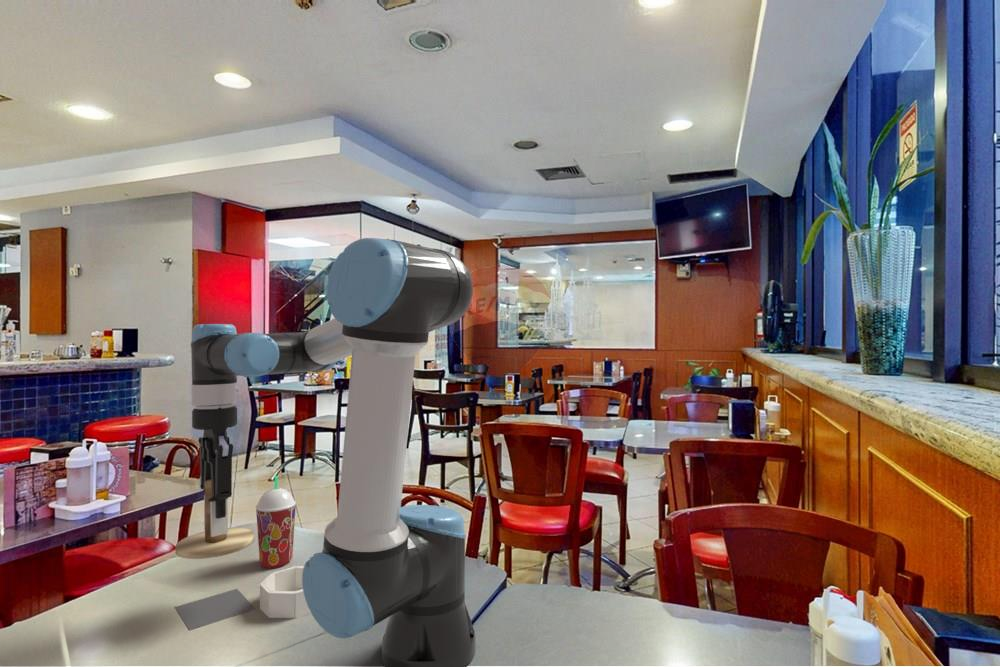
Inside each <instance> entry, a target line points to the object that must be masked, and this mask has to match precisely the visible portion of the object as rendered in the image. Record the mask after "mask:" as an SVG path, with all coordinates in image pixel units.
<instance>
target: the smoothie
mask: <svg viewBox="0 0 1000 667" xmlns="http://www.w3.org/2000/svg"><path fill="white" fill-rule="evenodd" d="M278 478H279V477H278V475H275V476H274V488H273V487H272V488H271V489H269V490H267V491H266V492H264V493H263V494H262V495H261V497H260V498H259V500H258V502H257V504H256V505H255V510H256V511H255V512H256V513H255V514H256V527H257V542H258V556H259V557H258V558H259V563H260V565H261V566H262V568H265V569H277V568H283V567H285V566H287V565H288V564H290V562H291V560H293V559H292V558H293V556H294V554H293V552H294V535H295V524H296V523H295V520H296V506H297V505H296V504H297V501H296V500H295V498H294V497H293V495H292V494H291V492H290V491H289V490H287V489H285V488H281V487H279V486H278V484H279V483H278Z"/></svg>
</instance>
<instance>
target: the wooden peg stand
mask: <svg viewBox="0 0 1000 667" xmlns="http://www.w3.org/2000/svg"><path fill="white" fill-rule="evenodd" d="M204 496H205V530H204V531H201V532H198V533H195V534H191V535H189V536H186V537H184V538H181V540H179V541H178V542H177V543H176V545H175V555H176V556H177V557H180V558H183V559H189V560H190V559H191V560H199V559H200V560H201V559H213V558H218V557H223V556H227V555H230V554H233V553H236V552H240V551H241V550H244V549H245V548H248V547H249V546H251V545H252V544H253V543H254V541H255V533H254V531H253V530H251V529H249V528H243V527H228V533H227V534H222V535H218V536H214V537H211V519H210V502H208V499H209V498H212V482H211V479H210V480H206V481H205V495H204Z"/></svg>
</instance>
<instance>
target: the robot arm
mask: <svg viewBox="0 0 1000 667" xmlns="http://www.w3.org/2000/svg"><path fill="white" fill-rule="evenodd" d="M473 295H474V283H473V279H472V276H471V273H470V270H469V269H468V267H467V266H466V265H465V263H463V261H462V260H461V259H460V258H459V257H458V256H456V255H454V254H453V253H451V252H449V251H447V250H443V249H439V248H430V247H428V246H423V245H418V244H415V243H414V244H413V243H409V242H405V241H400V240H396V239H389V238H377V237H363V238H359V239H357V240H355V241H353V242H351V243H349V244H348V245H347V246H345V248H344V250H343V251H342V252H340V253H339V254H338V256H337V257H336V259H335V260H334V262H333V264H332V266H331V268H330V271H329V274H328V277H327V283H326V300H327V301H326V302H327V305H328V306H330V309H329V311H330V313H331V315H332V316H333V318H332V319H330V320H328V321H325V322H323V323H320V324H319V325H317V326H315V327H313V328H311V329H309V330H307V331H304V332H301V333H259V332H243V333H237V327H236V326H235V325H234V324H232V323H230V324H229V323H205V324H204V323H202V324H196V325H194V326H193V328H192V330H191V342H190V349H191V350H190V352H191V379H192V380H191V405H192V406H193V407H194V408H193V409H192V410H191V426H192V429H195V430H197V431H198V430H199V431H203V437H202V436H201V437H198V441H197V442H198V448H199V469H200V471H199V474H200V477H199V478H200V489H201V490H202V493H203V504H204V505H203V510H204V511H203V512H204V513H203V520H204V521H203V525H204V528H203V530H204V531H205V481H206V480H210V479H211V482H212V498H209V499H208V502H210V519H211V537H214V536H218V535H222V534H227V533H228V528H229V526H228V525H229V524H228V523H229V522H228V520H229V519H228V516H229V515H228V514H229V513H228V510H229V509H228V506H229V505H228V504H229V503H228V499H229V498H231V497H232V494H233V493H232V491H233V490H232V489H233V488H232V486H233V485H232V483H233V479H232V478H233V473H232V472H233V452H234V445H233V443H230V436H228V432H227V429H229V428H232V427H235V426H236V425H238V407H237V406H235V404H236V403H237V402H238V398H237V396H238V394H237V393H239V392H240V387H239V386H238V385H237V384H238V383H237V382H238V381H237V380H238V377H240V376H241V377H245V378H253V377H254V378H255V377H256V378H257V377H262V376H265V375H266V376H268V375H279V374H280V375H281V374H290V373H291V374H293V373H309V372H310V373H319V372H323V371H328V370H331V369H333V368H334V367H335V365H336V364H337V363H338V362H339V361H341V360H344V359H345V358H348V357H351V359H350V360H351V362H350V363H351V364H350V372H349V382H348V383H349V384H348V391H347V392H348V394H347V405H346V406H347V407H346V416H345V426H344V427H345V428H344V438H343V439H344V440H343V450H342V463H341V472H340V473H341V474H340V483H339V494H338V495H339V496H338V504H337V507H338V508H337V516H336V517H335V518H333V519H332V520H331V521H330V522H329V523H328V524H327V525H326V527H325V529H324V535H323V536H324V537H323V546H322V552H315V553H314V554H313V555H312V556H311V557H309V559H308V560H307V561H306V562H305V564H304V565H303V566H304V569H303V573H302V586H303V592H304V596H305V600H306V602H307V605H308V608H309V609H310V611H311V613H310V614H311V615H312V617H313V618H314V621H316V623H317V624H318V625H319V627H321V629H323V631H325V632H326V633H327V634H329V635H330V636H332V637H335V638H339V639H348V638H352V637H355V636H356V635H358V634H361V633H363V632H367V631H370V629H372V628H373V627H374V626H376V625H377V624H379V623H381V622H382V621H384V620H386V619H387V618H388V620H387V624H386V628H385V631H384V632H385V633H384V634H383V637H382V640H381V660H382V663H383V664H384V666H385V667H467V666H468V665H469V664H470V663H471V662H472V661H473V659H474V657H475V655H476V649H477V647H476V646H477V645H476V644H477V643H476V632H475V629H474V626H473V623H472V620H471V616H470V614H469V610H468V607H467V604H466V598H465V596H466V595H465V593H466V591H465V590H466V589H465V587H466V586H465V585H466V584H465V583H466V581H465V580H466V578H465V577H466V576H465V574H466V573H465V572H466V569H465V568H466V538H467V536H466V534H465V533H466V532H465V520H464V517H463V516H462V514H461V513H460V512H458V511H457V510H455V509H452V508H449V507H446V506H440V505H430V504H429V505H428V504H413V505H405V506H402V496H403V488H404V487H403V485H404V476H405V465H406V456H407V445H408V435H409V425H410V416H411V406H412V405H411V404H412V395H413V385H414V382H413V381H414V373H415V362H416V355H417V353H418V352H419V351H421V350H422V349H423V348H425V346H427V345H428V342H429V334H430V333H431V332H433V331H436V330H439V329H441V328H444V327H447V326H450V325H452V324H455V323H456V322H459V320H460V319H461V318H462V317H464V315H465V313H466V312H467V311H468V310H469V308H470V306H471V304H472V300H473Z"/></svg>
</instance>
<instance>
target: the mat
mask: <svg viewBox="0 0 1000 667" xmlns="http://www.w3.org/2000/svg"><path fill="white" fill-rule="evenodd" d="M174 609H175V610H176V612H177V613H178V615H179V616H180V618H181V619H182V621H183V623H184V625H185V626H186V628H187V629H188V631H193V630H195V629H198V628H201V627H205V626H208V625H210V624H214V623H218V622H220V621H223V620H226V619H229V618H233V617H236V616H239V615H241V614H244V613H248V612H252V611H254V610H256V607H255V606H254V605H253V604H252V603H251V602H250V601H249V600H248V598H246V597H245V596H244V595H243V594H242V592H240V590H239V589H238V588H234V589H231V590H229V591H225V592H221V593H218V594H215V595H211V596H207V597H204V598H201V599H197V600H194V601H191V602H187V603H184V604H180V605H178V606H177V605H176V606H174Z"/></svg>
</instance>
